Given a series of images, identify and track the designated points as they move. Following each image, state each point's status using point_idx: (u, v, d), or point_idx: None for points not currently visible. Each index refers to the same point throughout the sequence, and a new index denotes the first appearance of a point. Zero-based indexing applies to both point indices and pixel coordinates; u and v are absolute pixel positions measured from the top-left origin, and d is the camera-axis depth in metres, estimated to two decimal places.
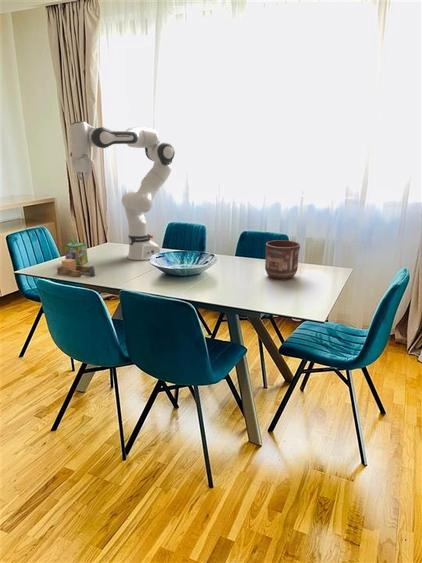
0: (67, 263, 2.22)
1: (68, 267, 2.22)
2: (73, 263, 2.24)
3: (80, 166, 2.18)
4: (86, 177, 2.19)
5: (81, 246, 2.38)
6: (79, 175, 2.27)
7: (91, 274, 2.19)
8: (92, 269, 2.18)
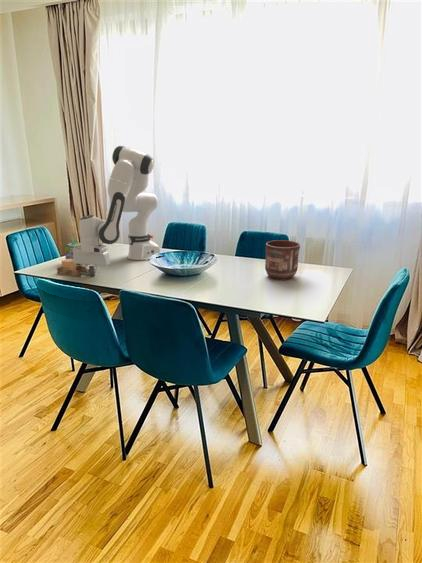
0: (67, 263, 2.22)
1: (68, 267, 2.22)
2: (73, 263, 2.24)
3: None
4: None
5: None
6: None
7: (91, 274, 2.19)
8: (92, 269, 2.18)
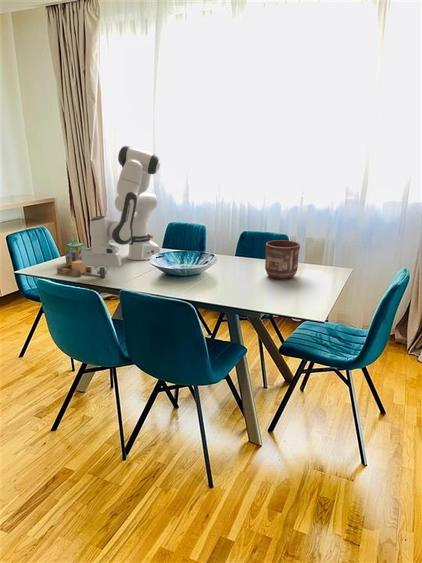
0: (77, 265, 2.19)
1: (78, 269, 2.20)
2: None
3: None
4: None
5: (81, 246, 2.38)
6: None
7: (101, 276, 2.16)
8: (102, 271, 2.15)
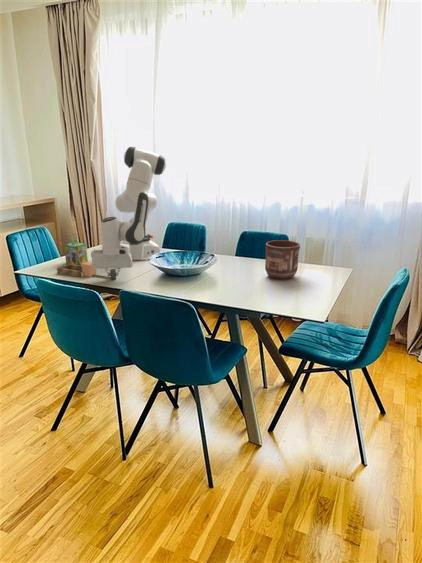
0: (87, 266, 2.16)
1: (88, 270, 2.17)
2: None
3: None
4: None
5: (81, 246, 2.38)
6: None
7: (112, 277, 2.13)
8: (113, 272, 2.13)
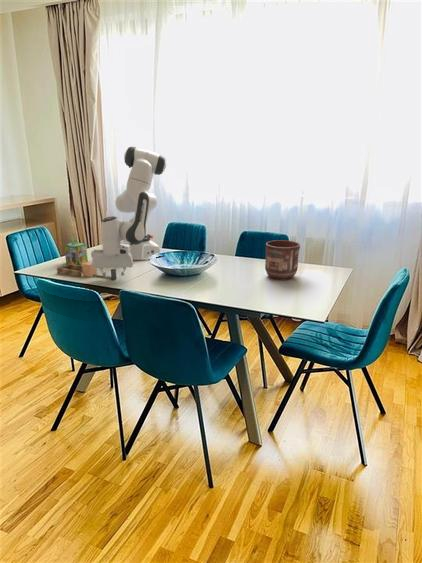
0: (88, 266, 2.16)
1: (89, 270, 2.17)
2: None
3: None
4: None
5: (81, 246, 2.38)
6: None
7: (113, 277, 2.13)
8: (114, 272, 2.13)
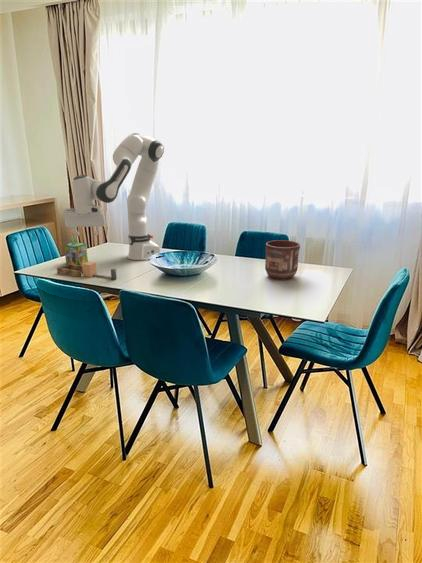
0: (88, 266, 2.16)
1: (89, 270, 2.17)
2: (94, 266, 2.19)
3: None
4: None
5: (81, 246, 2.38)
6: (96, 230, 2.15)
7: (113, 277, 2.13)
8: (114, 272, 2.13)
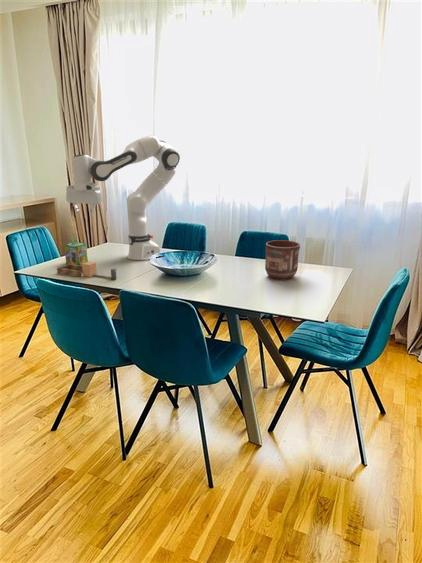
0: (88, 266, 2.16)
1: (89, 270, 2.17)
2: (94, 266, 2.19)
3: None
4: None
5: (81, 246, 2.38)
6: None
7: (113, 277, 2.13)
8: (114, 272, 2.13)
